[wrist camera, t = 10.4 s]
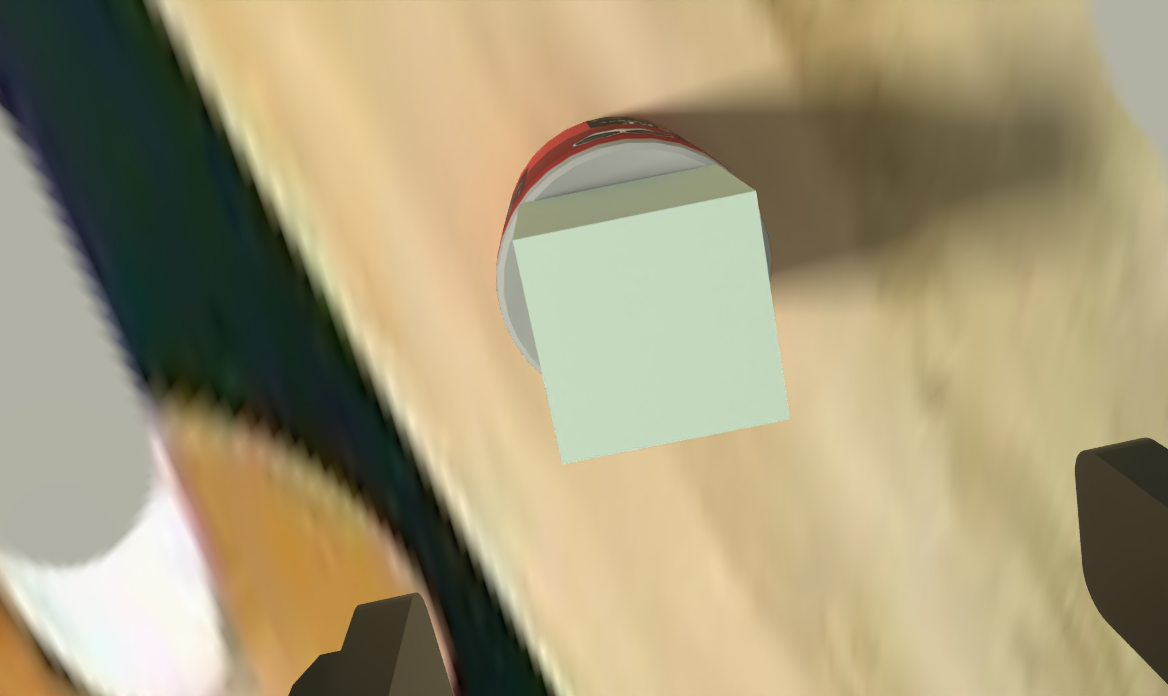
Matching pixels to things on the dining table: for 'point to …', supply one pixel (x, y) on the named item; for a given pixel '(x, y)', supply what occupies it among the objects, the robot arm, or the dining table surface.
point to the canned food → (581, 165)
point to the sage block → (651, 311)
